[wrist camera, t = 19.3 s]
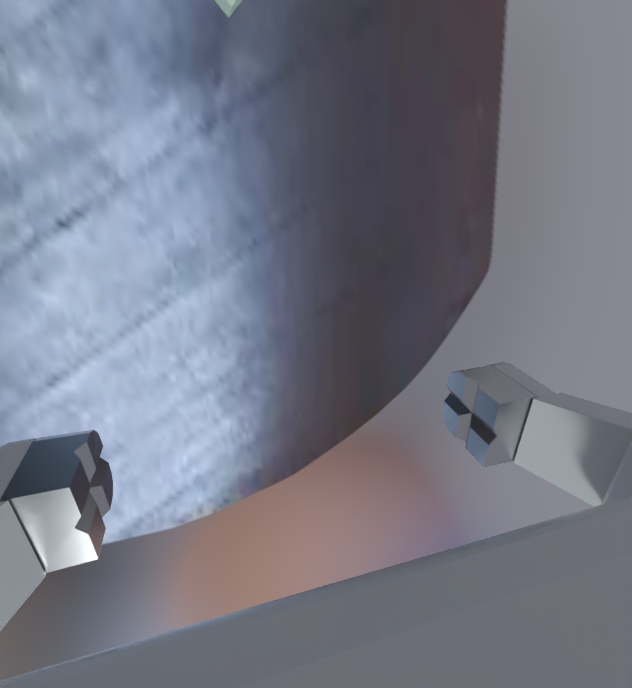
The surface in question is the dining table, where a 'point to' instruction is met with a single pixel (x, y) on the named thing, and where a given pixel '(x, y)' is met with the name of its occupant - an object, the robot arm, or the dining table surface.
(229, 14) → the socket plate
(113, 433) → the dining table surface
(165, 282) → the dining table surface
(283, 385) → the dining table surface
